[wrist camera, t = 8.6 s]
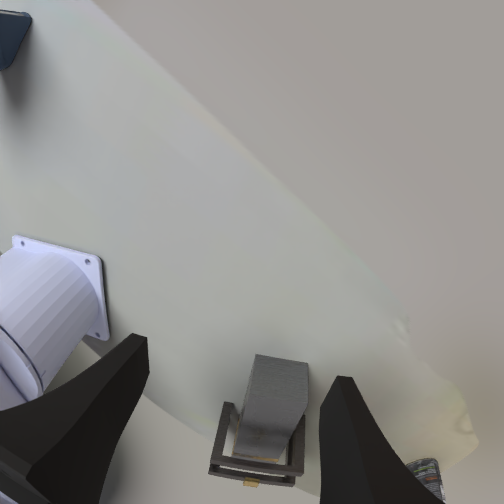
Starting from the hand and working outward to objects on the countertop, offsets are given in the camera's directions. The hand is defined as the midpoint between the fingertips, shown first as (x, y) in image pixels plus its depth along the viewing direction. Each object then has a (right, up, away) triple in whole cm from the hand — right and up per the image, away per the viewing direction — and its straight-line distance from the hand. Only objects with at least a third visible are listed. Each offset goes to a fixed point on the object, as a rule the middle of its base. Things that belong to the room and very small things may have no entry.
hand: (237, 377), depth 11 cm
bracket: (+2, -10, +15) cm, 18 cm away
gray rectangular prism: (+2, -8, +14) cm, 17 cm away
